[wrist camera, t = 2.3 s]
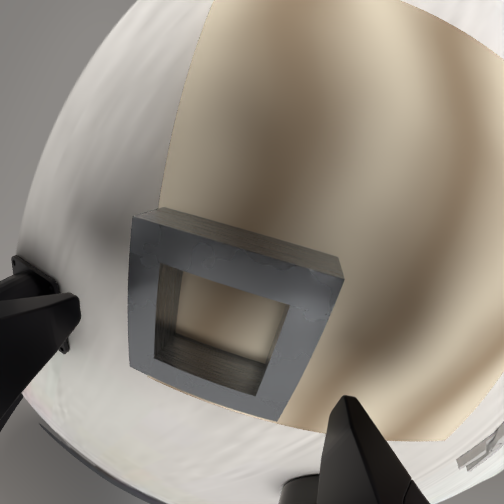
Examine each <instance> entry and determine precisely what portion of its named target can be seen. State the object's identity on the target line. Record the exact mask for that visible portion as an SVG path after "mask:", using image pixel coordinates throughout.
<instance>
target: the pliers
mask: <svg viewBox="0 0 504 504" xmlns="http://www.w3.org/2000/svg"><path fill="white" fill-rule="evenodd" d="M503 445H504V422H503V423H502V424H501V425H500V426H499V428H498V430H497V431H495V432H494V433H493V434H491V435H490V436H488V437H487V438H486V439H484V440H483V441H482V442H480V443H479V444H478V445H476V446H475V447H474V448H472V449H471V450H469V451H468V452H467V453H465V454H464V455H462V456H461V457H459V458H458V459H456V460H457V463H458V467H459V469H461V468H463V467H465V466H466V467H467V471H471V470H473V469H474V468H476V467H477V466H478V465H480V464H481V463H483V462H484V461H485V460H487V459H488V458H489V457H490V456H492V455H493V454H494V453H495V452H497V451H498V450H499V449H500V448H501V447H502V446H503Z"/></svg>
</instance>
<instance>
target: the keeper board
mask: <svg viewBox="0 0 504 504" xmlns="http://www.w3.org/2000/svg"><path fill="white" fill-rule="evenodd" d="M162 207H165V208H169V209H173V210H177V211H180V212H184V213H188V214H191V215H195V216H199V217H202V218H206V219H209V220H213V221H217V222H220V223H224V224H227V225H231V226H234V227H238V228H241V229H245V230H248V231H252V232H255V233H259V234H262V235H266V236H269V237H273V238H276V239H280V240H283V241H286V242H290V243H293V244H297V245H300V246H303V247H307V248H310V249H313V250H317V251H320V252H323V253H326V254H330V255H333V256H336V257H338V258H339V261H340V265H341V268H342V271H343V275H344V278H345V280H344V283H343V285H342V288H341V290H340V293H339V295H338V298H337V300H336V303H335V305H334V308H333V310H332V312H331V315H330V317H329V319H328V322H327V324H326V326H325V329H324V331H323V333H322V335H321V337H320V340H319V342H318V344H317V346H316V348H315V350H314V353H313V355H312V357H311V359H310V361H309V363H308V365H307V367H306V369H305V371H304V373H303V375H302V377H301V379H300V381H299V383H298V385H297V387H296V389H295V391H294V392H293V394H292V396H291V398H290V400H289V402H288V404H287V405H286V407H285V409H284V411H283V413H282V414H281V416H280V418H279V420H278V421H277V422H276V421H272V420H268V419H264V418H261V417H257V416H254V415H250V414H247V413H243V412H240V411H237V410H234V409H231V408H228V407H225V406H222V405H219V404H216V403H213V402H211V401H208V400H205V399H202V398H200V397H197V396H195V395H192V394H190V393H187V392H185V391H182V390H180V389H177V388H175V387H173V386H170V385H168V384H166V383H164V382H161V381H159V380H157V379H155V378H153V377H151V376H149V375H147V377H149V378H151V379H153V380H155V381H157V382H160V383H162V384H164V385H166V386H168V387H171V388H173V389H175V390H178V391H180V392H183V393H185V394H187V395H190V396H192V397H195V398H198V399H200V400H203V401H206V402H208V403H211V404H214V405H217V406H219V407H222V408H225V409H228V410H231V411H234V412H238V413H241V414H244V415H247V416H251V417H254V418H258V419H261V420H265V421H269V422H273V423H277V424H281V425H285V426H289V427H294V428H299V429H303V430H308V431H314V432H319V433H325V434H326V432H327V426H328V420H329V416H330V413H331V411H332V409H333V408H334V407H335V405H336V404H337V402H338V401H339V399H340V398H341V397H342V396H343V395H348V396H354V397H356V398H357V399H358V400H359V402H360V403H361V405H362V406H363V408H364V409H365V411H366V412H367V413H368V415H369V416H370V418H371V419H372V421H373V422H374V424H375V425H376V427H377V428H378V430H379V431H380V432H381V434H382V435H383V437H384V438H385V440H388V441H445V440H446V439H447V438H448V437H449V436H450V435H451V434H452V433H453V432H454V431H455V430H456V429H457V428H458V427H459V426H460V425H461V424H462V423H463V422H464V421H465V420H466V419H467V418H468V416H469V415H470V414H471V413H472V412H473V411H474V410H475V409H476V407H477V406H478V405H479V404H480V403H481V401H482V400H483V399H484V398H485V396H486V395H487V394H488V393H489V391H490V390H491V389H492V387H493V386H494V385H495V383H496V382H497V381H498V379H499V378H500V376H501V375H502V373H503V372H504V60H503V59H502V58H501V57H500V56H498V55H497V54H496V53H494V52H493V51H492V50H490V49H489V48H487V47H486V46H485V45H483V44H482V43H480V42H479V41H477V40H476V39H474V38H473V37H471V36H469V35H468V34H466V33H465V32H463V31H461V30H460V29H458V28H456V27H454V26H453V25H451V24H449V23H447V22H445V21H444V20H442V19H440V18H438V17H436V16H434V15H432V14H430V13H428V12H426V11H424V10H421V9H419V8H417V7H415V6H412V5H410V4H408V3H405V2H403V1H400V0H214V1H213V3H212V6H211V8H210V11H209V13H208V16H207V18H206V21H205V24H204V26H203V29H202V32H201V35H200V37H199V40H198V43H197V46H196V49H195V52H194V55H193V58H192V61H191V64H190V68H189V71H188V74H187V77H186V81H185V84H184V88H183V91H182V95H181V99H180V103H179V106H178V110H177V114H176V118H175V122H174V127H173V131H172V135H171V140H170V145H169V149H168V154H167V159H166V164H165V169H164V175H163V180H162V186H161V192H160V198H159V205H158V209H159V208H162ZM285 306H286V304H285V303H281V302H278V301H275V300H271V299H268V298H265V297H262V296H258V295H255V294H252V293H249V292H245V291H242V290H239V289H236V288H233V287H230V286H227V285H224V284H221V283H218V282H214V281H211V280H208V279H205V278H202V277H199V276H197V275H194V274H191V273H188V272H185V271H183V275H182V282H181V289H180V297H179V305H178V314H177V323H176V333H178V334H181V335H183V336H186V337H189V338H191V339H194V340H196V341H199V342H202V343H204V344H207V345H210V346H213V347H215V348H218V349H221V350H224V351H227V352H230V353H233V354H236V355H239V356H242V357H245V358H248V359H251V360H255V361H258V362H261V363H264V364H265V362H266V359H267V357H268V354H269V351H270V349H271V346H272V343H273V340H274V338H275V335H276V332H277V329H278V326H279V323H280V321H281V318H282V315H283V312H284V309H285Z"/></svg>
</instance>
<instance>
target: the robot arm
mask: <svg viewBox="0 0 504 504" xmlns="http://www.w3.org/2000/svg"><path fill="white" fill-rule="evenodd" d="M12 267H13V275H12V276H10V277H8V278H6V279H4V280H2V281H0V431H1V430H2V428H3V427H4V425H5V423H6V422H7V420H8V419H9V417H10V416H11V414H12V413H13V411H14V410H15V408H16V407H17V405H18V404H19V402H20V401H21V400H22V398H23V395H22V391H23V390H24V389H25V388H26V387H27V385H28V384H29V383H30V382H31V381H32V379H33V378H34V377H35V376H36V375H37V374H38V372H39V371H40V370H41V369H42V368H43V367H44V366H45V364H46V363H47V362H48V361H49V360H50V359H51V358H52V357H53V355H54V354H55V353H56V352H57V351H58V350H59V351H60V352H62V353H63V354H66V353H67V352H68V351H69V348H68V343H67V338H68V336H69V335H70V334H71V332H72V331H73V330H74V328H75V327H76V326H77V325H78V323H79V322H80V319H81V311H80V301H79V298H78V297H77V296H76V295H74V294H72V293H70V292H67V293H60V294H59V288H58V285H57V283H56V281H55V280H54V279H52V278H50V277H49V276H47V275H46V274H44V273H42V272H41V271H39V270H38V269H36V268H35V267H33V266H32V265H30V264H29V263H27V262H26V261H24V260H23V259H21V258H20V257H19V256H17V255H15V256H13V257H12ZM317 504H430V503H429V502H428V500H427V499H426V498H425V496H424V495H423V494H422V492H421V491H420V489H419V488H418V487H417V485H416V484H415V482H414V481H413V480H411V476H410V475H409V474H408V472H407V471H406V469H405V468H404V466H403V465H402V463H401V462H400V460H399V459H398V457H397V456H396V454H395V453H394V452H393V450H392V449H391V447H390V446H389V444H388V443H387V441H386V440H385V438H384V437H383V435H382V434H381V432H380V431H379V430H378V428H377V427H376V425H375V424H374V422H373V421H372V419H371V418H370V416H369V415H368V413H367V412H366V411H365V409H364V408H363V406H362V405H361V403H360V402H359V400H358V399H357V398H356V397H354V396H348V395H343V396H342V397H341V398H340V399H339V401H338V402H337V404H336V405H335V407H334V408H333V409H332V411H331V413H330V416H329V420H328V426H327V432H326V437H325V442H324V447H323V452H322V458H321V466H320V477H319V487H318V496H317Z"/></svg>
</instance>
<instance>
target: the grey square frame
mask: <svg viewBox="0 0 504 504" xmlns="http://www.w3.org/2000/svg"><path fill="white" fill-rule="evenodd" d="M183 271H185V272H188V273H191V274H194V275H197V276H199V277H202V278H205V279H208V280H211V281H214V282H218V283H221V284H224V285H227V286H230V287H233V288H236V289H239V290H242V291H245V292H249V293H252V294H255V295H258V296H262V297H265V298H268V299H271V300H275V301H278V302H281V303H285V304H286V306H285V309H284V312H283V315H282V318H281V321H280V323H279V326H278V329H277V332H276V335H275V338H274V340H273V343H272V346H271V349H270V351H269V354H268V357H267V359H266V362H265V364H264V363H261V362H258V361H255V360H251V359H248V358H245V357H242V356H239V355H236V354H233V353H230V352H227V351H224V350H221V349H218V348H215V347H213V346H210V345H207V344H204V343H202V342H199V341H196V340H194V339H191V338H189V337H186V336H183V335H181V334H178V333H176V323H177V314H178V305H179V297H180V289H181V282H182V275H183ZM344 280H345V278H344V275H343V271H342V268H341V265H340V261H339V258H338V257H336V256H333V255H330V254H326V253H323V252H320V251H317V250H313V249H310V248H307V247H303V246H300V245H297V244H293V243H290V242H286V241H283V240H280V239H276V238H273V237H269V236H266V235H262V234H259V233H255V232H252V231H248V230H245V229H241V228H238V227H234V226H231V225H227V224H224V223H220V222H217V221H213V220H209V219H206V218H202V217H199V216H195V215H191V214H188V213H184V212H180V211H177V210H173V209H169V208H165V207H162V208H159V209H156V210H152V211H149V212H145V213H142V214H139V215H135V216H133V219H132V229H131V241H130V254H129V273H128V343H129V361H130V367H132V368H134V369H136V370H138V371H140V372H142V373H144V374H146V375H149V376H151V377H153V378H155V379H157V380H159V381H161V382H164V383H166V384H168V385H170V386H173V387H175V388H177V389H180V390H182V391H185V392H187V393H190V394H192V395H195V396H197V397H200V398H202V399H205V400H208V401H211V402H213V403H216V404H219V405H222V406H225V407H228V408H231V409H234V410H237V411H240V412H243V413H247V414H250V415H254V416H257V417H261V418H264V419H268V420H272V421H276V422H277V421H278V420H279V418H280V416H281V414H282V413H283V411H284V409H285V407H286V405H287V404H288V402H289V400H290V398H291V396H292V394H293V392H294V391H295V389H296V387H297V385H298V383H299V381H300V379H301V377H302V375H303V373H304V371H305V369H306V367H307V365H308V363H309V361H310V359H311V357H312V355H313V353H314V350H315V348H316V346H317V344H318V342H319V340H320V337H321V335H322V333H323V331H324V329H325V326H326V324H327V322H328V319H329V317H330V315H331V312H332V310H333V308H334V305H335V303H336V300H337V298H338V295H339V293H340V290H341V288H342V285H343V283H344Z"/></svg>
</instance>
